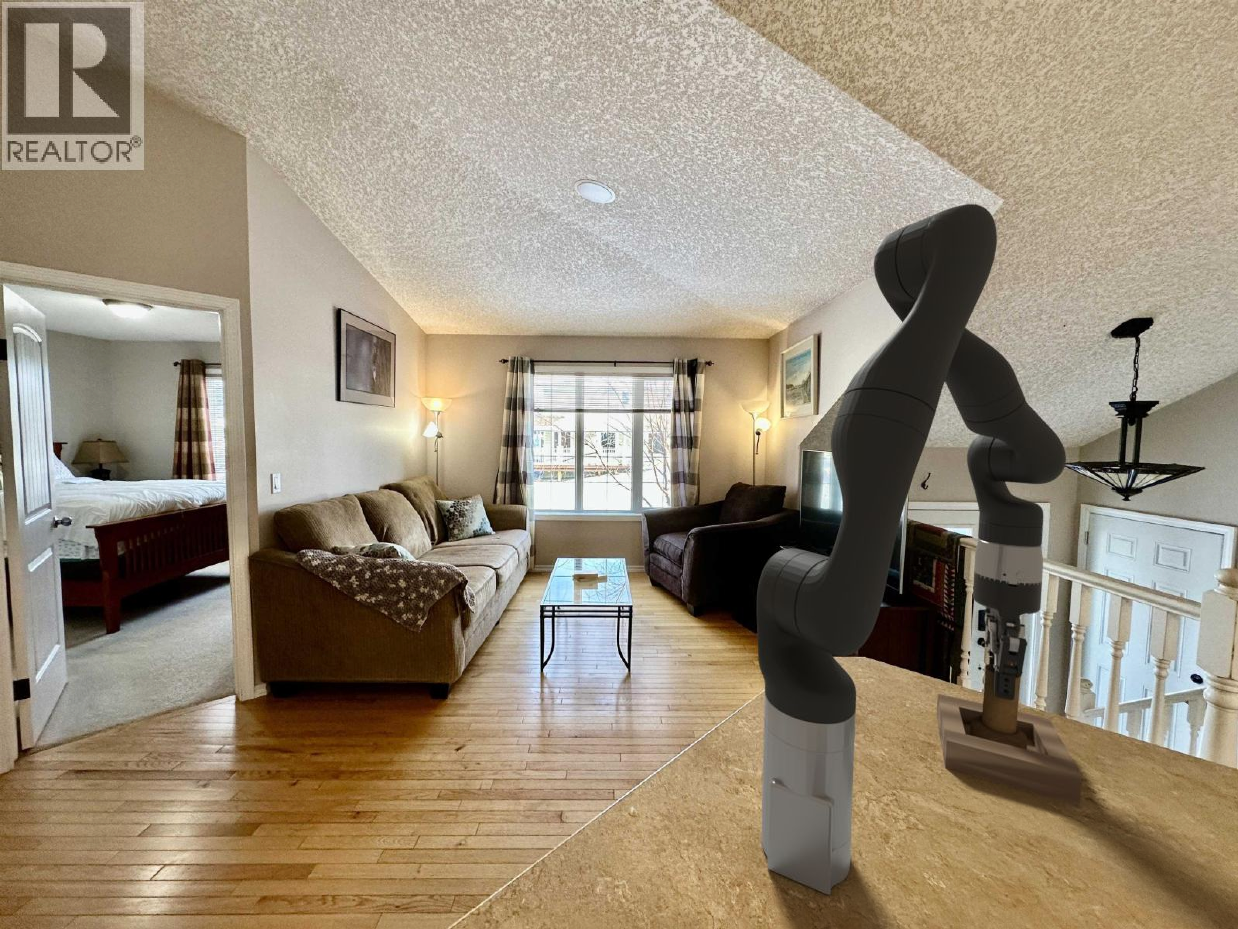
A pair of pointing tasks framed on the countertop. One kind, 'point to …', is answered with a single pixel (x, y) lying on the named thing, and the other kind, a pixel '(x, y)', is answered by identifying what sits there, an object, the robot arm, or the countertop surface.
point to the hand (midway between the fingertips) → (1000, 689)
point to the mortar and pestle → (998, 715)
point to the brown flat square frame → (1008, 753)
